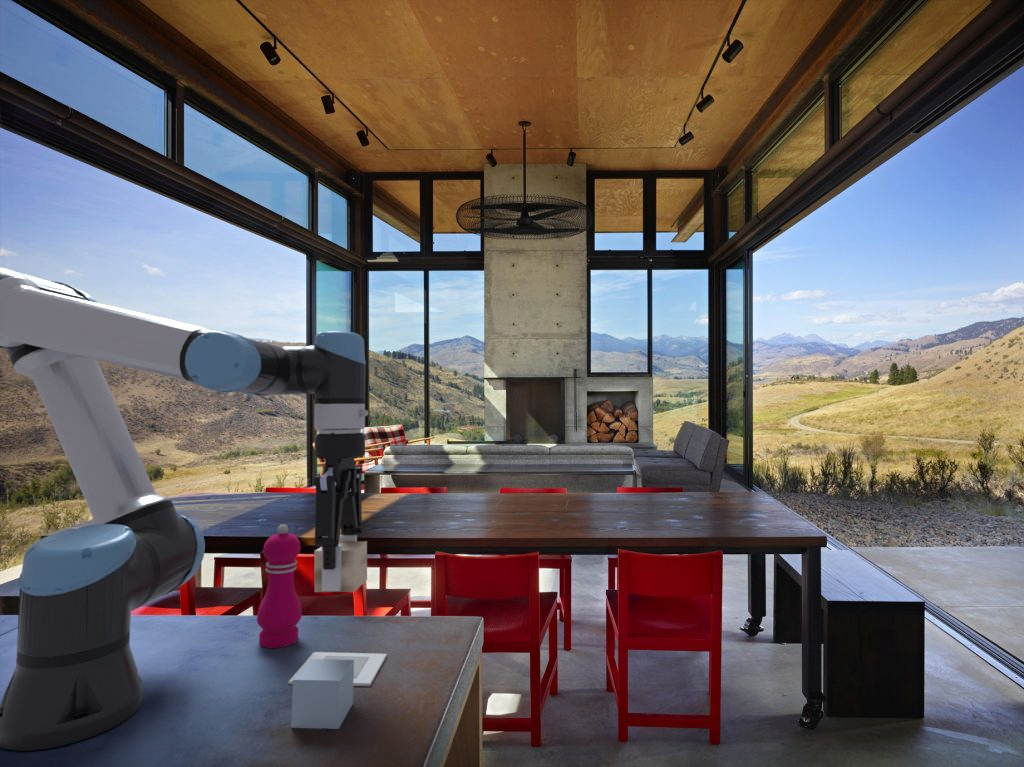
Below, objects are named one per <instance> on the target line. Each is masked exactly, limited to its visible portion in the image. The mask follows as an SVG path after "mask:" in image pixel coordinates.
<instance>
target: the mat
mask: <svg viewBox="0 0 1024 767" xmlns="http://www.w3.org/2000/svg"><path fill="white" fill-rule="evenodd" d="M387 657H388V656H387V653H375V652H374V653H371V652H370V653H369V652H368V653H367V652H366V653H365V652H364V653H363V652H334V651H333V652H331V651H328V652H327V651H324V652H323V651H314V652H312V654H310V656H309V657H308V658H307V659H306V660H305V661H304V663H303V664H302V665H301V667H300V668H298V670H297V671H296V672H295V673H294V675H292V677H291V678H290V679H289V680H288V685H293V679H294V678H295V677H296V676H297V674H298V673H299V672H300V671H301V670H302V668H303V667H304V666H305V665H306V664H307V663H308V661H309V660H310V659H336V660H354V678H353V687H371V685H372V683H373V682H374V680H375V678H376V676H377V674H378V673H379V670H380V669H381V668H382V666H383V663H384V662H385V660H386V658H387Z"/></svg>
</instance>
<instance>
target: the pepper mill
mask: <svg viewBox="0 0 1024 767" xmlns="http://www.w3.org/2000/svg"><path fill="white" fill-rule="evenodd" d="M276 530H277V533H275V534H273V535H271V536H270V537H268V538H267V539H266V540H265V542H264V544H263V551H262V552H263V556H264V558H265V559H266V560H267V561H268V562H266V563H265V567H266V568H265V572H266V573H267V575H268V576H267V577H268V579H267V580H268V583H267V588H266V592H265V594H264V597H263V598H262V601H261V602H260V604H259V607H258V611H257V613H256V614H257V615H256V622H257V624H258V626H259V627H260V628H261V629H262V630H260V632H259V636H258V639H259V640H258V644H259V645H260V647H262V648H267V649H278V648H279V647H280V648H285V647H288V646H291V645H292V643H293V644H295V643H296V642H297V641H298V639H299V627H298V626H297V625H298V624H299V622H300V620H301V619H302V617H303V616H302V615H303V611H302V610H303V609H302V608H303V607H302V604H301V601H300V599H299V597H298V595H297V592H296V589H295V584H294V575H295V571H296V570H297V568H298V567H297V564H298V561H297V560H296V558H297V557H298V556H299V554H300V552H301V541H300V540H299V538H298V537H297V536H296V535H294V533H293V534H292V533H291V532H290V533H289V532H288V531H289V527H288V525H287V524H284V523H283V524H282V523H281V524H280V525H279V526H277V528H276ZM295 641H296V642H295ZM294 642H295V643H294ZM290 644H291V645H290ZM284 646H285V647H284ZM280 648H279V649H280Z"/></svg>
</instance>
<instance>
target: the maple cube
mask: <svg viewBox="0 0 1024 767" xmlns="http://www.w3.org/2000/svg"><path fill="white" fill-rule="evenodd" d="M339 545H342V568H341V591H322V547H319V548H317V549H315V550H313V551H314V552H313V553H314V554H313V558H314V566H313V567H314V568H313V570H314V571H313V572H314V576H313V577H314V585H313V586H314V590H313V591H314V593H339V592H340V593H354V592H356V591H357V590H358V589H360V587H362V585H364V584H365V582H367V581H368V541H367V540H365V541H362V540H360V541H359V540H357V542H339Z"/></svg>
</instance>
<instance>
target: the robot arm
mask: <svg viewBox="0 0 1024 767" xmlns="http://www.w3.org/2000/svg"><path fill="white" fill-rule="evenodd" d="M0 349H4V350H5V351H6V353H7V355H8V357H9V360H10V362H11V364H12V367H13V369H14V371H15V372H16V373H17V374H19V375H23V376H25V377H28V378H30V379H32V381H33V383H34V386H35V388H36V390H37V392H38V394H39V397H40V400H41V401H42V402H41V403H42V405H43V407H44V408H45V411H46V413H47V416H48V418H49V420H50V422H51V425H52V426H53V429H54V431H55V434H56V436H57V438H58V441H59V443H60V445H61V447H62V449H63V452H64V455H65V457H66V459H67V461H68V464H69V465H70V469H71V470H72V473H73V475H74V478H75V480H76V482H77V484H78V486H79V489H80V491H81V493H82V495H83V498H84V500H85V503H86V505H87V507H88V509H89V512H90V515H91V516H92V519H91V520H92V521H91V523H90V524H89V525H86V526H85V525H84V526H81V527H79V528H69V529H66V530H62V531H58V532H55V533H53V534H50V535H47V536H45V537H43V538H40V539H39V540H37V541H35V542H34V543H33V544H31V545H30V547H28V549H27V550H26V552H25V554H24V556H23V559H22V560H23V561H22V568H21V573H20V575H19V579H18V586H19V597H18V598H19V599H18V600H19V601H18V622H17V637H16V638H17V641H16V643H17V644H16V658H15V659H16V661H15V668H14V670H13V673H12V676H11V677H10V681H9V682H8V684H7V687H6V690H5V692H4V693H3V697H2V700H1V701H0V748H2V749H5V750H10V751H20V752H21V751H39V750H46V749H53V748H58V747H61V746H66V745H69V744H74V743H77V742H80V741H83V740H86V739H89V738H92V737H95V736H97V735H99V734H102V733H105V732H106V731H108V730H111V729H113V728H114V727H116V726H118V725H120V724H122V723H123V722H124V721H126V720H128V719H129V718H130V717H131V716H133V714H135V713H136V712H137V711H139V708H140V707H141V706H142V703H143V686H144V685H143V680H142V679H141V677H140V675H139V672H138V668H137V664H136V661H135V658H134V656H133V652H132V649H131V646H130V645H131V644H130V638H131V620H132V619H131V617H132V612H133V611H134V610H137V609H139V608H141V607H143V606H144V605H147V604H148V603H151V602H153V601H155V600H156V599H158V598H161V597H164V596H166V595H169V594H170V593H172V592H175V591H176V590H178V589H179V588H180V587H181V586H182V585H184V584H186V583H187V582H188V581H189V580H191V578H192V577H193V576H194V575H195V574H196V573H197V572H198V570H199V568H200V566H201V564H202V562H203V560H204V556H205V552H206V551H205V548H206V543H205V538H204V537H205V536H204V533H203V531H202V530H201V527H200V526H199V525H198V524H197V523H196V522H195V520H193V519H192V518H188V517H187V516H185V515H182V514H178V512H177V510H176V508H175V506H174V503H173V501H172V498H170V497H168V496H165V495H162V494H158V493H157V492H156V491H155V488H154V486H153V484H152V482H151V479H150V477H149V475H148V472H147V470H146V468H145V465H144V463H143V461H142V459H141V457H140V455H139V453H138V449H137V448H136V445H135V443H134V441H133V439H132V436H131V434H130V432H129V430H128V427H127V425H126V423H125V420H124V419H123V416H122V413H121V411H120V409H119V407H118V405H117V402H116V400H115V398H114V396H113V394H112V391H111V389H110V387H109V385H108V381H107V380H106V377H105V375H104V373H103V371H102V368H101V366H100V364H99V362H103V363H108V364H112V365H115V366H116V365H117V366H121V367H124V368H130V369H132V370H133V369H134V370H137V371H142V372H146V373H150V374H151V373H152V374H155V375H159V376H165V377H169V378H173V379H177V380H182V381H186V382H190V383H193V384H197V385H199V386H201V387H202V388H205V389H208V390H212V391H214V392H215V391H216V392H221V393H234V392H235V393H236V392H237V393H240V394H243V395H253V396H262V397H266V396H272V395H276V396H277V395H282V396H283V395H298V394H299V395H303V394H305V395H313V394H314V423H313V424H314V427H313V429H315V431H318V433H316V434H315V435H314V456H315V458H316V459H321V460H322V459H323V460H324V468H323V473H322V475H315V476H314V486H315V520H314V522H315V523H314V525H315V526H314V527H315V528H314V546H315V547H319V548H320V547H322V591H341V568H342V545H339V542H357V541H358V535H362V534H363V533H364V532H363V531H364V528H362V526H363V514H362V512H363V509H362V504H363V503H362V474H363V468H362V467H360V466H357V467H356V461H355V459H356V458H357V459H358V458H362V457H364V456H365V455H366V435H365V434H364V432H362V430H364V429H365V428H366V417H367V416H368V415H369V411H368V410H367V409H366V394H365V393H366V365H367V361H366V357H365V356H366V355H365V354H366V353H365V350H366V349H365V340H364V338H363V337H362V335H360V334H359V333H355V332H352V331H351V332H350V331H341V330H336V331H335V330H333V331H332V330H330V331H329V330H328V331H321V332H318V333H316V335H315V337H314V342H313V345H307V346H306V345H305V346H282V345H281V346H280V345H279V346H278V345H275V344H272V343H266V342H263V341H261V340H260V341H259V340H255V339H252V338H248V337H245V336H243V335H240V334H237V333H234V332H229V331H225V330H223V331H221V330H216V329H209V328H205V327H203V326H198V325H193V324H190V323H185V322H180V321H176V320H172V319H169V318H164V317H158V316H154V315H152V314H147V313H146V314H145V313H143V312H142V313H141V312H138V311H132V310H129V309H124V308H121V307H117V306H113V305H106V304H103V303H99V302H97V301H96V299H95V298H93V297H92V296H91V295H89V294H88V293H87V292H85V291H83V290H80V289H77V288H76V287H73V286H72V285H69V284H66V283H63V282H58V281H53V280H51V281H50V280H46V279H43V278H40V277H35V276H32V275H31V274H30V275H29V274H25V273H22V272H18V271H15V270H12V269H9V268H5V267H0Z"/></svg>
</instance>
